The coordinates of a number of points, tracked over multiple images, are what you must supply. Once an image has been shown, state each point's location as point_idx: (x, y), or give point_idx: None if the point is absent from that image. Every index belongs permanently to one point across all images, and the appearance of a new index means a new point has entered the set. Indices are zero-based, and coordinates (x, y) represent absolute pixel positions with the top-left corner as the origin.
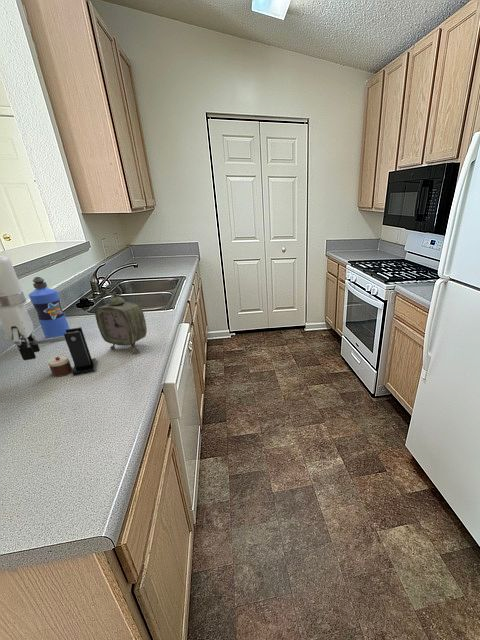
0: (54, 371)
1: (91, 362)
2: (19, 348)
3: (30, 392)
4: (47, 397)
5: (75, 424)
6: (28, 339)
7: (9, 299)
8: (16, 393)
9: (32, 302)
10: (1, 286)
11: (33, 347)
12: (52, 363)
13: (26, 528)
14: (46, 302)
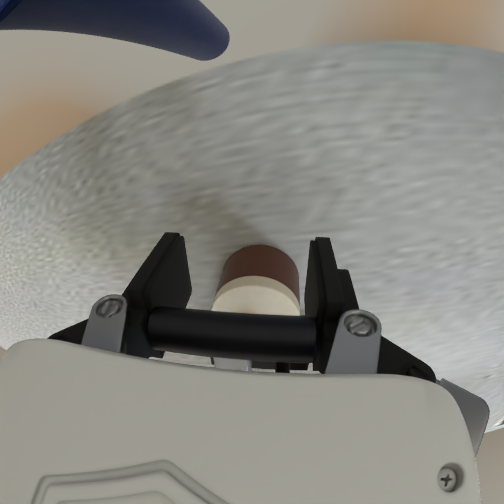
0: (223, 274)
1: (270, 363)
2: (101, 307)
3: (113, 190)
4: (74, 249)
5: (5, 301)
6: (300, 362)
7: None
8: (119, 139)
9: None
10: None
11: (308, 303)
12: (218, 304)
13: None
14: None
